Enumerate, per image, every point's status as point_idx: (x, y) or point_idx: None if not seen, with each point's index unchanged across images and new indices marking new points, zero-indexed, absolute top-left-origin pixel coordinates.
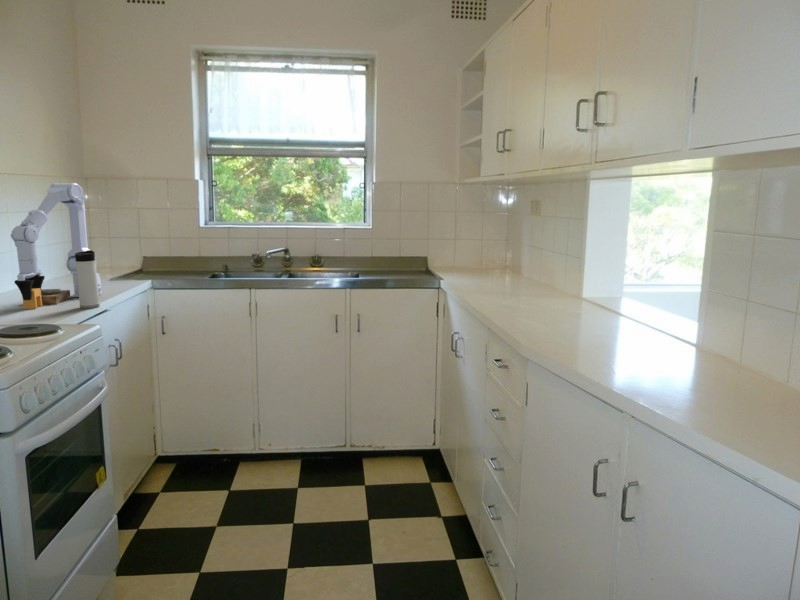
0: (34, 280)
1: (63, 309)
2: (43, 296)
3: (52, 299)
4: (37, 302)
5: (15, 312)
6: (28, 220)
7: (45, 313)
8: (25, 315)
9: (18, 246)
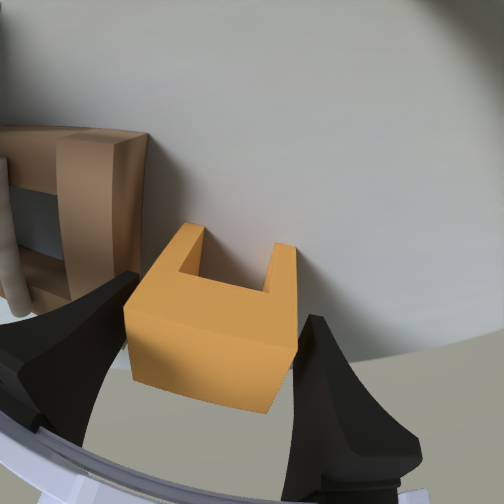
0: (71, 397)
1: (418, 61)
2: (108, 244)
3: (126, 168)
4: (194, 261)
5: (368, 332)
6: None
7: (499, 179)
8: (487, 274)
9: None
